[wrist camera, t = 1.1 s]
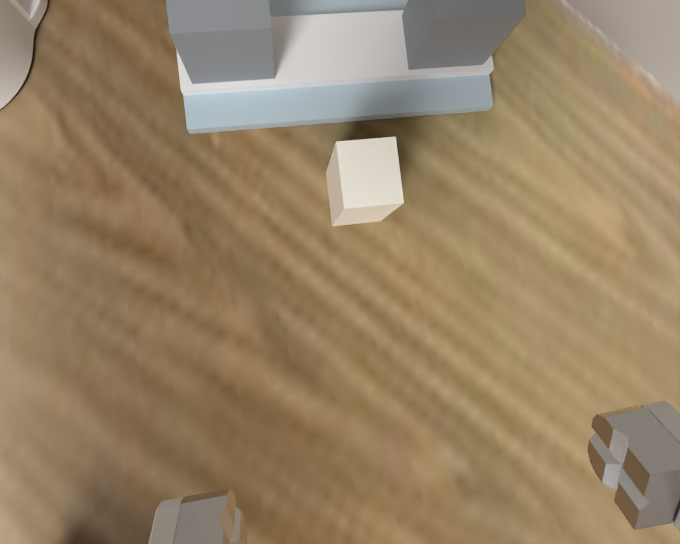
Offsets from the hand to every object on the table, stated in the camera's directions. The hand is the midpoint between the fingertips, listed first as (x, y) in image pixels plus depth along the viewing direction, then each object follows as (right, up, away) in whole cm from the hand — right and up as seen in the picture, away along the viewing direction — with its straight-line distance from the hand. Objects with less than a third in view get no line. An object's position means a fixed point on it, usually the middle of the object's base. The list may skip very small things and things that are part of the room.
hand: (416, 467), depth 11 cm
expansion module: (0, +11, +34) cm, 36 cm away
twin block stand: (-2, +24, +34) cm, 42 cm away
